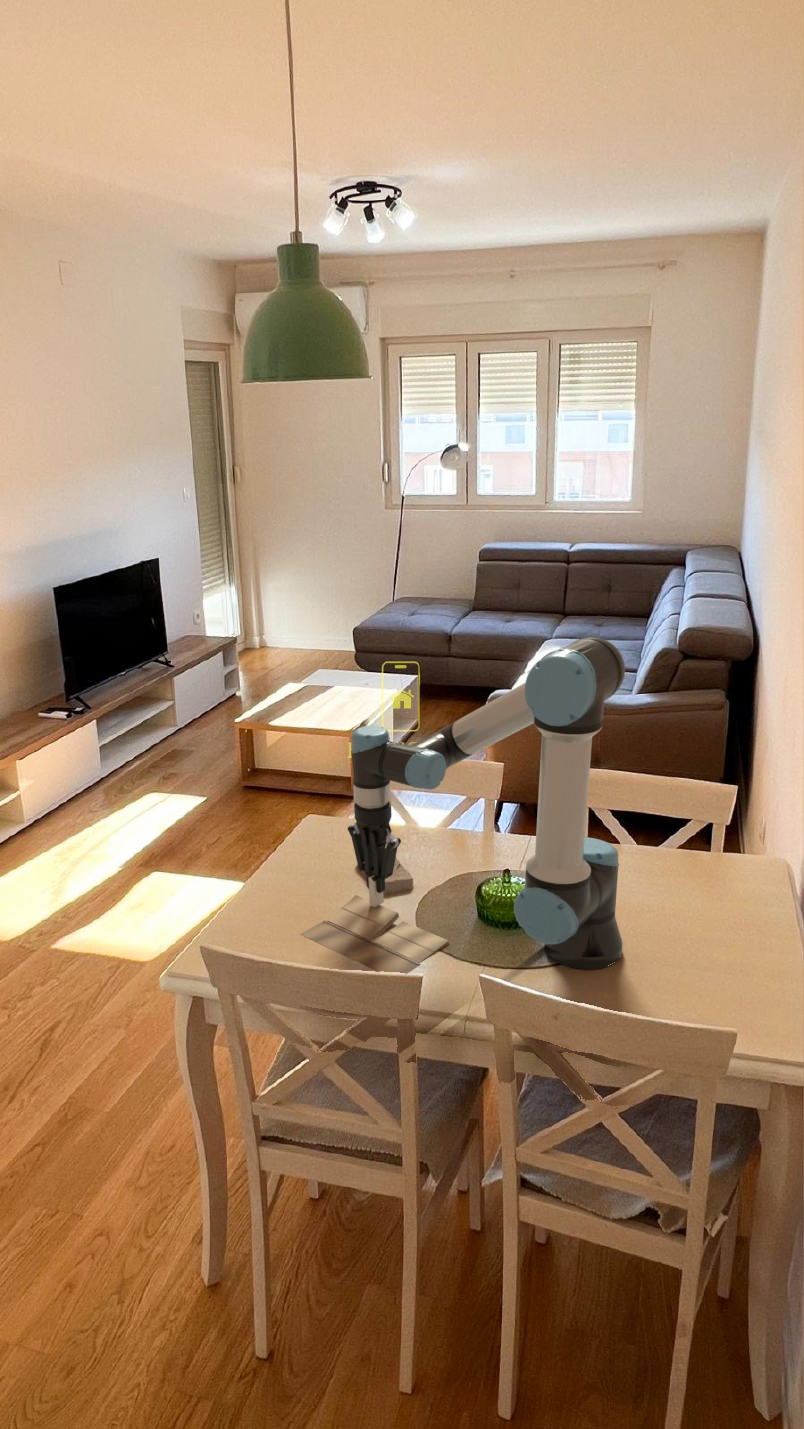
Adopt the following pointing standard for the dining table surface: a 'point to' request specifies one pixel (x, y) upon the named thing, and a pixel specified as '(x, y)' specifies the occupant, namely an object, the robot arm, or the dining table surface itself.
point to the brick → (398, 879)
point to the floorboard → (359, 948)
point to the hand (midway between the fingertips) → (376, 903)
